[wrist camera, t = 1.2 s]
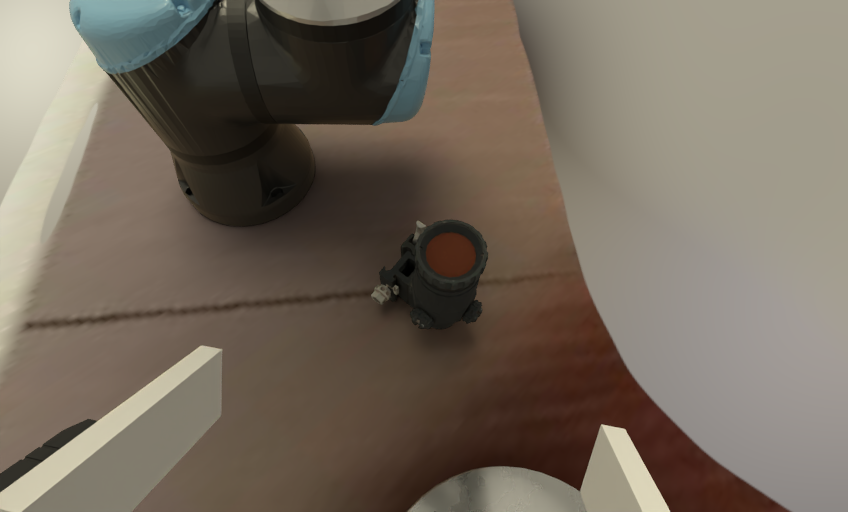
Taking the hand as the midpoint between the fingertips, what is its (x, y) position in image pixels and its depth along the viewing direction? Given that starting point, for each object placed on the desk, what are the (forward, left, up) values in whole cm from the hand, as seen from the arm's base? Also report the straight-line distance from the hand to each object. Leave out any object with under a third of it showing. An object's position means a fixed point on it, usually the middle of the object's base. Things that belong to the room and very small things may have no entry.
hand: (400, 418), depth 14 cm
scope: (-13, +2, -26) cm, 29 cm away
